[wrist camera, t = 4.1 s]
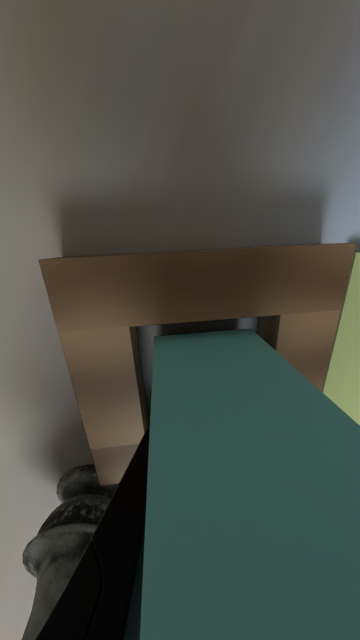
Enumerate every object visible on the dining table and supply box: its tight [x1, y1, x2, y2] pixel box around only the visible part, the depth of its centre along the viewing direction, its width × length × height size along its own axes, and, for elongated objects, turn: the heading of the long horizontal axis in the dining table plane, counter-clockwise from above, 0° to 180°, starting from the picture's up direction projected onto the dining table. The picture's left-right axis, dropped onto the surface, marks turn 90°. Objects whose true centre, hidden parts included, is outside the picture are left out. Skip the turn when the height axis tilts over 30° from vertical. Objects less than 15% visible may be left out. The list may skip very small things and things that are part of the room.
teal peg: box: [140, 329, 360, 640], centre depth 7 cm, size 5×5×10 cm
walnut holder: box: [39, 243, 356, 486], centre depth 11 cm, size 13×13×2 cm
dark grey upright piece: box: [22, 465, 119, 640], centre depth 10 cm, size 6×6×12 cm
